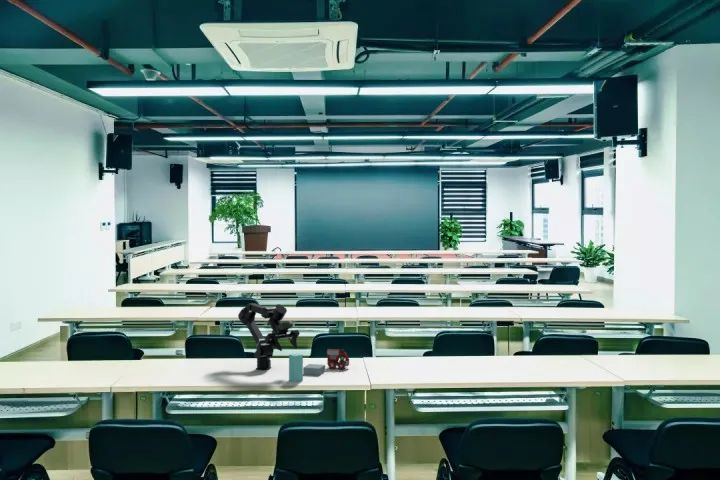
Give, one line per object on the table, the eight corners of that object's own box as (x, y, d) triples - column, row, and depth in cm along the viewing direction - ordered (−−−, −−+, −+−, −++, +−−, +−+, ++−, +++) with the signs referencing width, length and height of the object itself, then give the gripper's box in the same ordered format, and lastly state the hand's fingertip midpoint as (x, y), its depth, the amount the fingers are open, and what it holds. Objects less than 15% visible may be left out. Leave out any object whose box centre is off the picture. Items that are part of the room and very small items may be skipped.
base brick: (303, 375, 328) (303, 367, 328) (309, 371, 337) (309, 363, 337) (319, 376, 326) (319, 368, 326) (325, 372, 334) (325, 364, 334)
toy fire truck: (348, 370, 339) (348, 350, 339) (325, 369, 341) (325, 350, 340) (349, 367, 346) (350, 348, 346) (327, 366, 347) (327, 347, 347)
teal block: (288, 380, 315) (289, 354, 315) (297, 378, 318) (297, 353, 318) (294, 382, 311) (294, 356, 311) (302, 380, 314) (302, 354, 314)
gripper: (267, 317, 320) (279, 341, 311) (297, 314, 332) (310, 337, 323) (259, 332, 326) (271, 355, 317) (289, 328, 338) (301, 351, 329)
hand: (289, 349), depth 322 cm, fingers open, 9 cm apart
